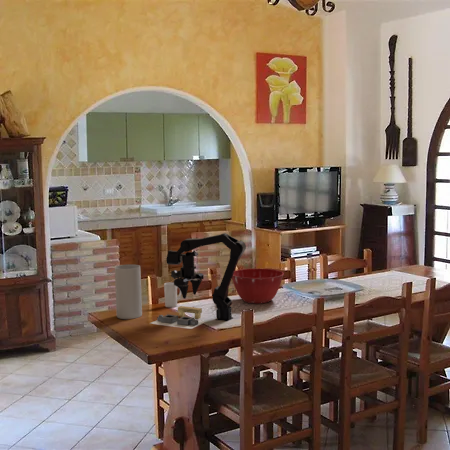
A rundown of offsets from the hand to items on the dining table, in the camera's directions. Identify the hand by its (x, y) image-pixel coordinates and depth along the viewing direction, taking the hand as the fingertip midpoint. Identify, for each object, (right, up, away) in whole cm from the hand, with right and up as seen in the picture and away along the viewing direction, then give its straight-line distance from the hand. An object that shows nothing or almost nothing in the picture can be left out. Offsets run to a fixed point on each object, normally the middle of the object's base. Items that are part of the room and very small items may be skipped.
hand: (189, 296), depth 308 cm
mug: (-10, -8, +27) cm, 30 cm away
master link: (0, -11, +1) cm, 11 cm away
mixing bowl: (+35, -6, +33) cm, 49 cm away
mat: (-5, -12, -8) cm, 15 cm away
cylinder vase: (-30, -11, +6) cm, 33 cm away
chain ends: (-5, -11, -8) cm, 15 cm away
